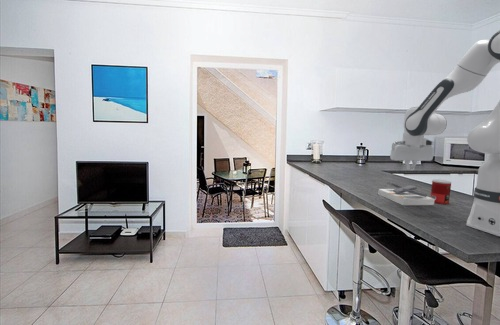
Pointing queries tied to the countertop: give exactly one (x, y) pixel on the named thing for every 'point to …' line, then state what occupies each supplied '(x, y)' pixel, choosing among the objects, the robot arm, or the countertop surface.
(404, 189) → the near rocker
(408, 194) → the switch unit
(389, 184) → the far rocker
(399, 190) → the middle rocker
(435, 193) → the canned food
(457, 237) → the countertop surface
